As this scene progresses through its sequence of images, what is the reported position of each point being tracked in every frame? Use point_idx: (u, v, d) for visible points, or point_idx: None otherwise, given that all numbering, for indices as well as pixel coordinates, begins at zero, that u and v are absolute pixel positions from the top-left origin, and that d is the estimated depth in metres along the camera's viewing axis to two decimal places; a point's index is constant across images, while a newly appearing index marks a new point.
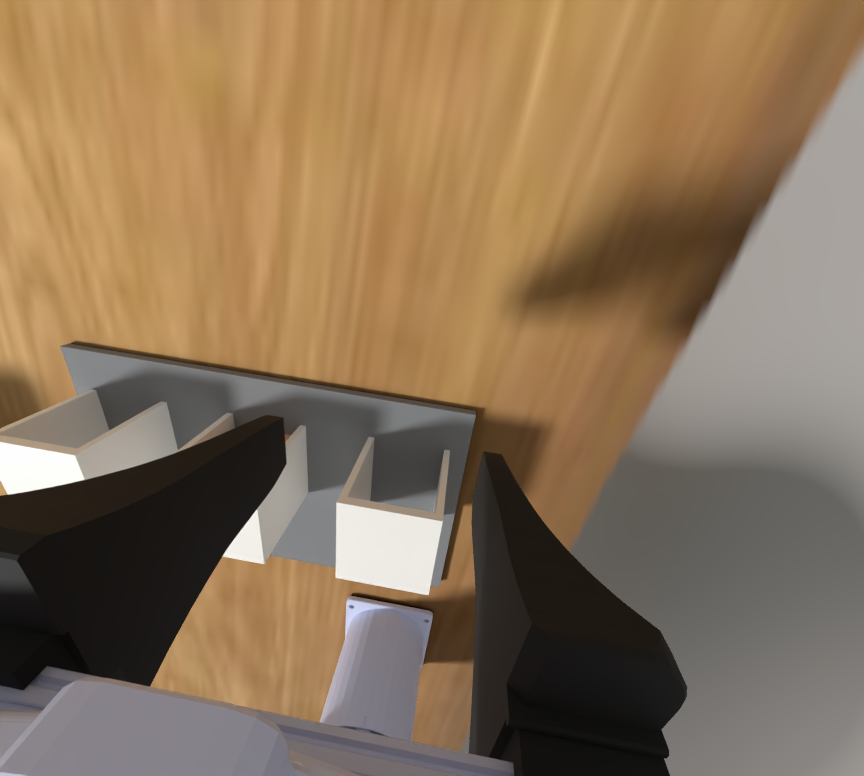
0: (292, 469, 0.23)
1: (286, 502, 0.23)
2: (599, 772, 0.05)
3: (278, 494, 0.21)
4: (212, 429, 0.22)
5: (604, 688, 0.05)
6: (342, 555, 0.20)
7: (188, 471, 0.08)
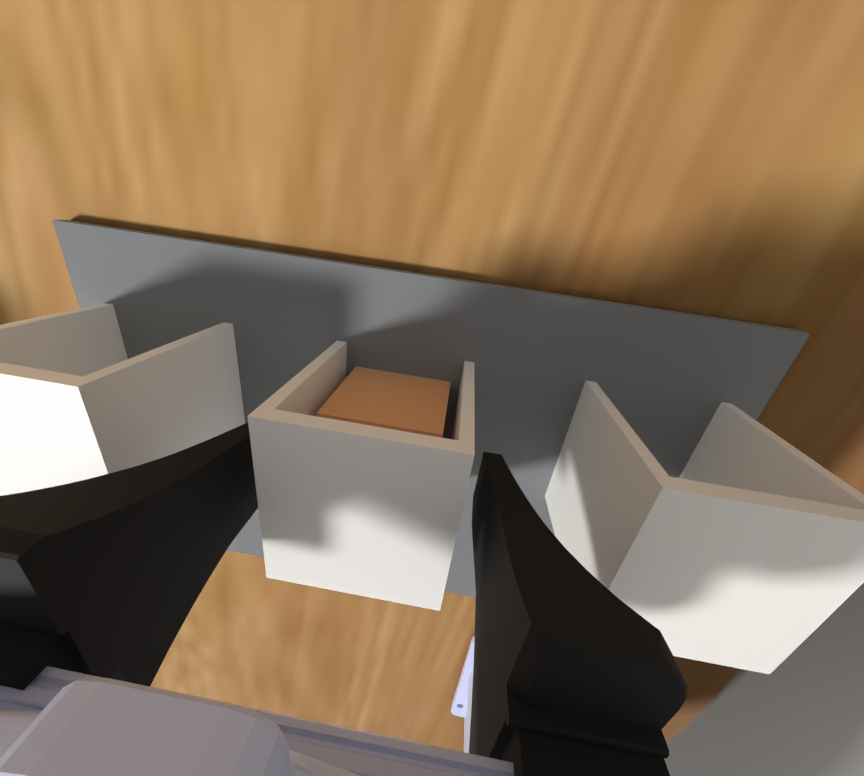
0: None
1: None
2: (599, 772, 0.05)
3: None
4: (327, 359, 0.12)
5: (604, 689, 0.05)
6: None
7: (188, 471, 0.08)
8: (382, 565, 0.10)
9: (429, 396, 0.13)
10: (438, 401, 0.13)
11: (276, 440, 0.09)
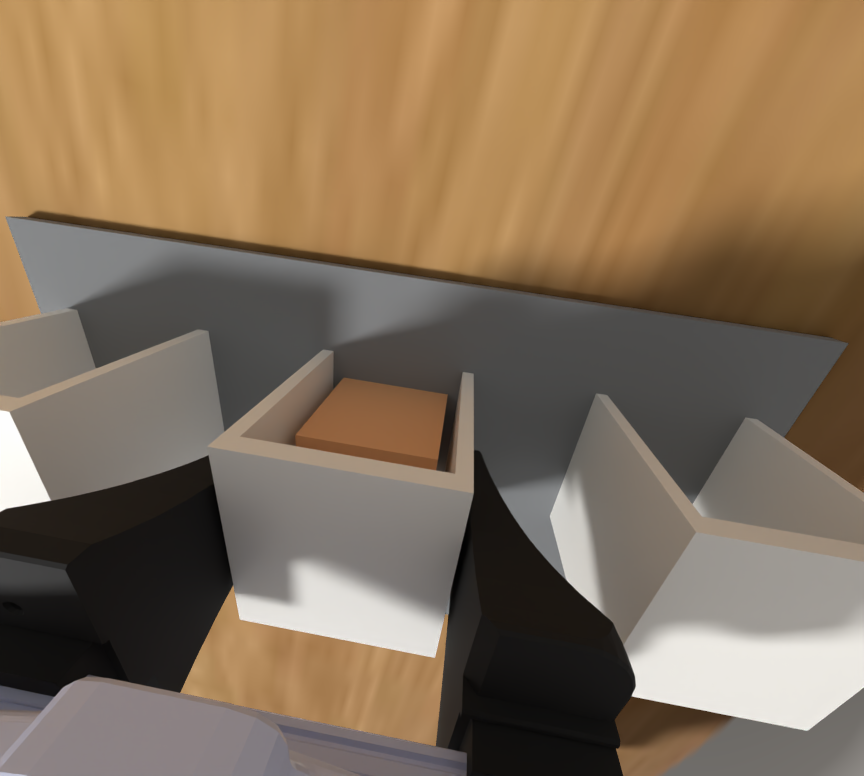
0: None
1: None
2: (549, 762, 0.05)
3: None
4: (310, 373, 0.11)
5: (555, 679, 0.05)
6: (638, 649, 0.09)
7: None
8: (368, 610, 0.09)
9: (423, 413, 0.12)
10: (433, 418, 0.11)
11: (242, 474, 0.07)
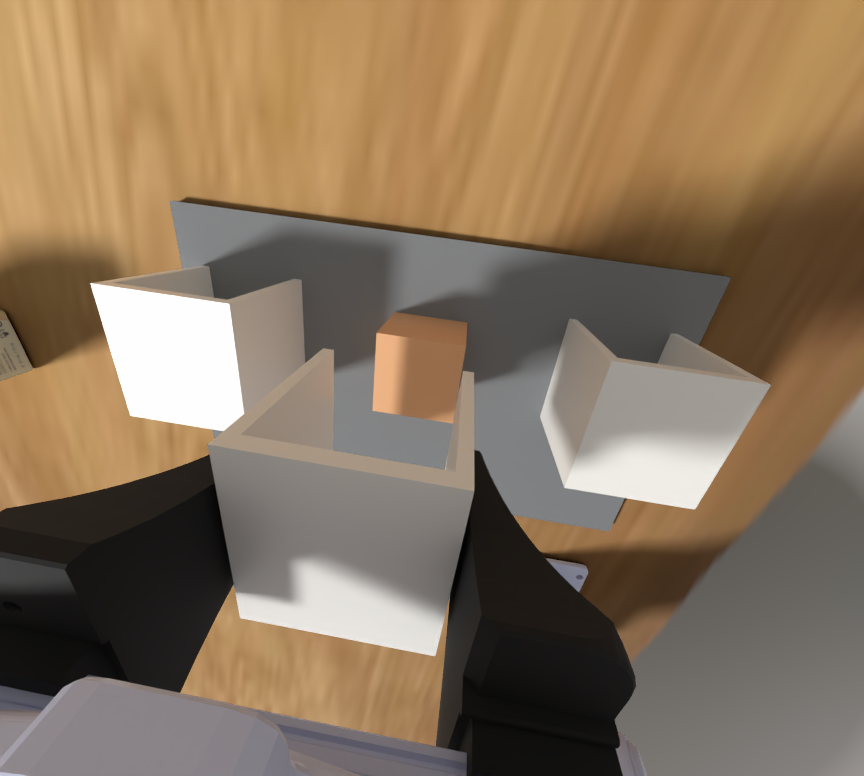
0: None
1: None
2: (549, 762, 0.05)
3: None
4: (310, 371, 0.11)
5: (554, 678, 0.05)
6: (588, 451, 0.14)
7: None
8: (369, 608, 0.09)
9: (453, 329, 0.17)
10: (460, 331, 0.17)
11: (242, 472, 0.07)
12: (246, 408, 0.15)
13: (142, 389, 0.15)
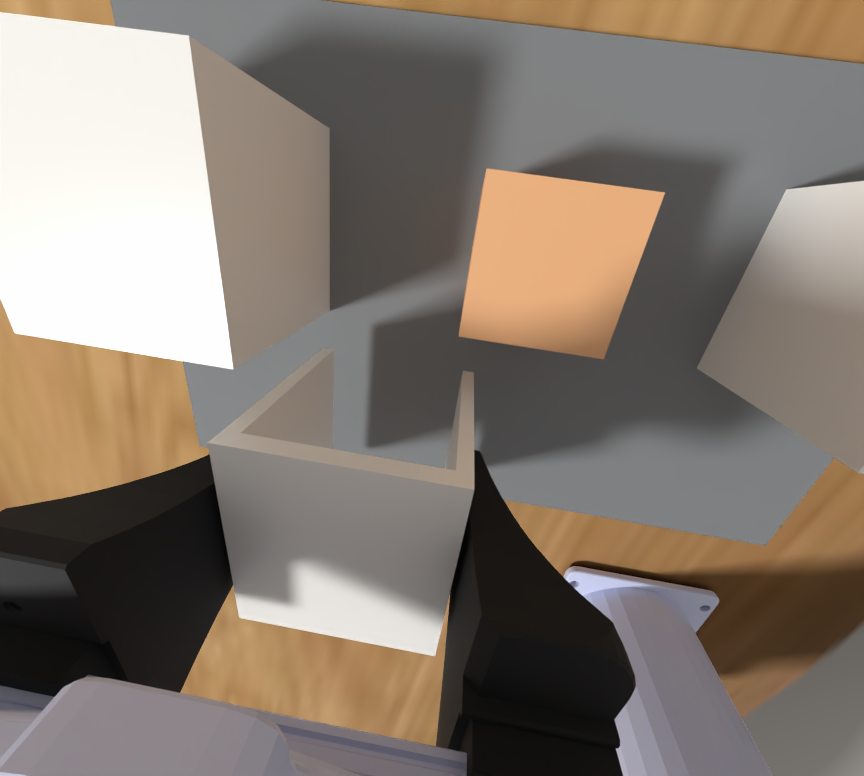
0: None
1: None
2: (549, 762, 0.05)
3: None
4: (310, 370, 0.11)
5: (555, 680, 0.05)
6: None
7: None
8: (369, 608, 0.09)
9: None
10: None
11: (242, 470, 0.07)
12: (232, 314, 0.08)
13: (29, 274, 0.08)
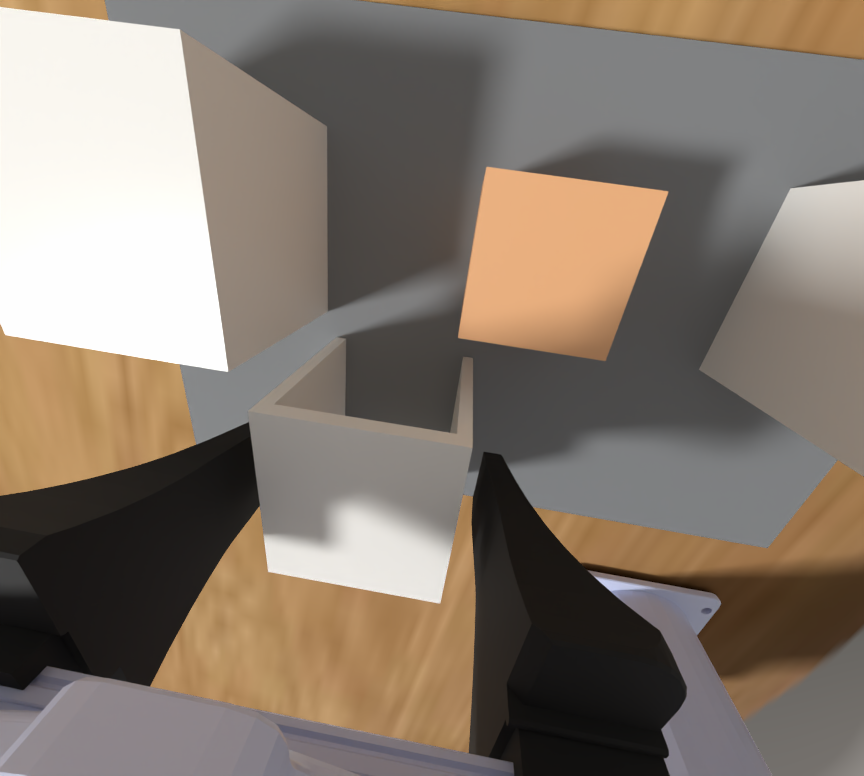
0: None
1: None
2: (599, 772, 0.05)
3: None
4: (327, 356, 0.12)
5: (604, 688, 0.05)
6: None
7: (188, 471, 0.08)
8: (382, 559, 0.10)
9: None
10: None
11: (276, 435, 0.09)
12: (226, 315, 0.08)
13: (18, 274, 0.08)
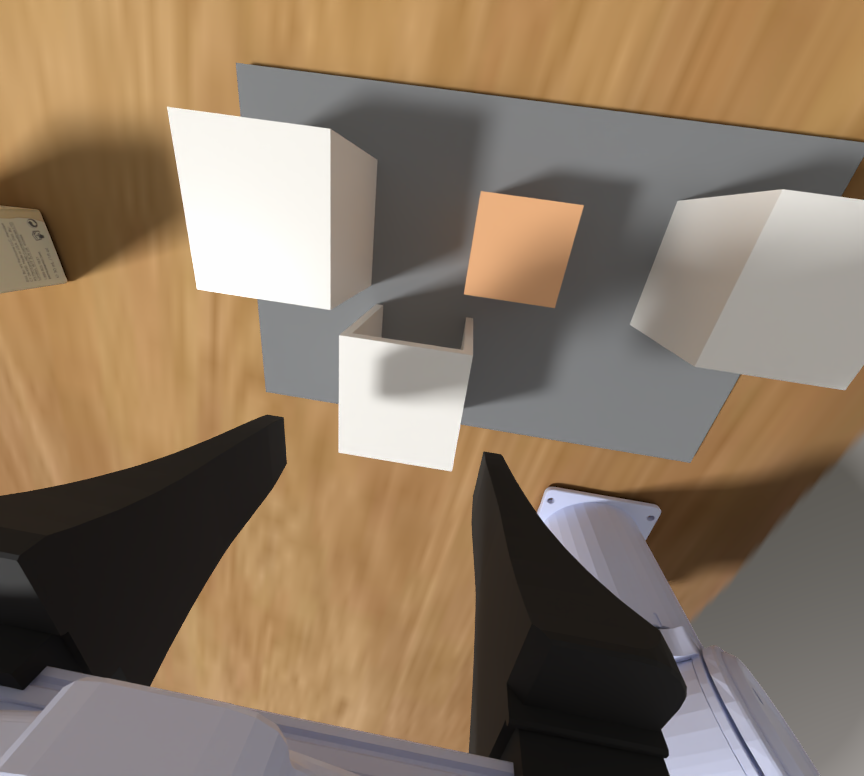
0: None
1: None
2: (599, 772, 0.05)
3: None
4: (374, 313, 0.18)
5: (604, 689, 0.05)
6: (731, 316, 0.12)
7: (188, 471, 0.08)
8: (415, 438, 0.16)
9: None
10: None
11: (355, 350, 0.15)
12: (332, 276, 0.14)
13: (215, 252, 0.14)
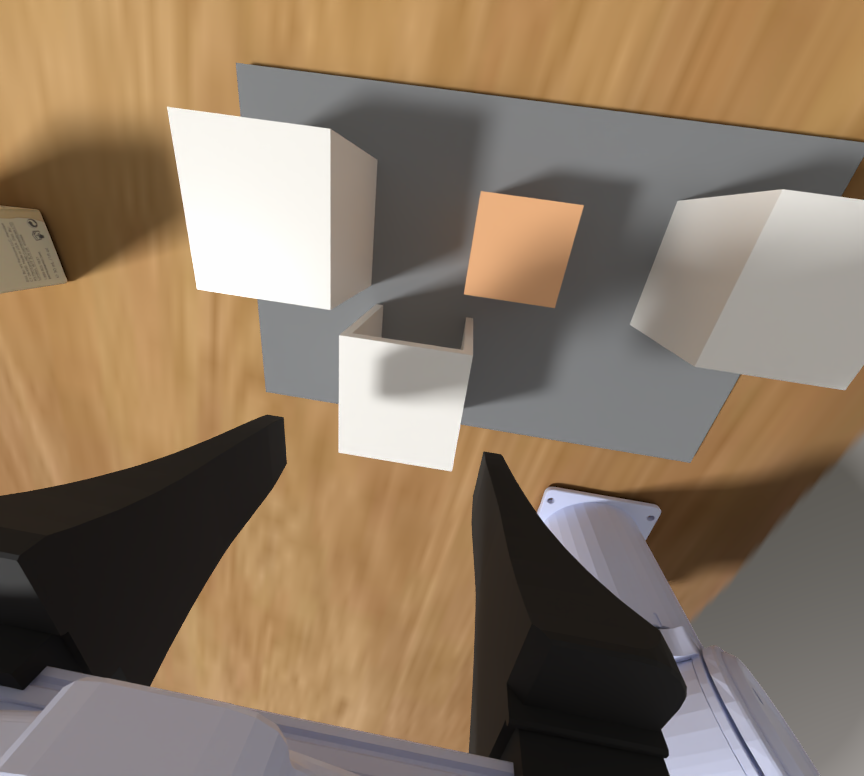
0: None
1: None
2: (599, 772, 0.05)
3: None
4: (374, 313, 0.18)
5: (604, 689, 0.05)
6: (731, 316, 0.12)
7: (188, 471, 0.08)
8: (415, 438, 0.16)
9: None
10: None
11: (355, 350, 0.15)
12: (332, 276, 0.14)
13: (215, 252, 0.14)
